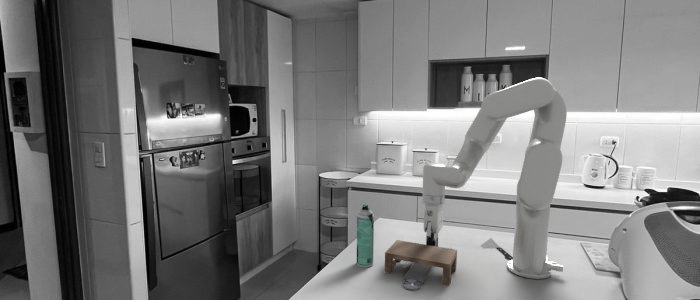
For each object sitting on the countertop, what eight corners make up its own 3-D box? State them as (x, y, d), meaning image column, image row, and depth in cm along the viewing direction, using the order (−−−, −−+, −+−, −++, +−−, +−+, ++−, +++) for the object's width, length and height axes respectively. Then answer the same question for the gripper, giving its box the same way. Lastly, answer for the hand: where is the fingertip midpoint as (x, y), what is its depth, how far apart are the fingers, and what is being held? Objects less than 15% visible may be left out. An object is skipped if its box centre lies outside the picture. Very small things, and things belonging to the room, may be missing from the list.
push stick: (440, 253, 132) (441, 232, 131) (423, 284, 110) (423, 258, 109) (423, 250, 135) (424, 229, 134) (403, 280, 112) (404, 255, 112)
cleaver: (488, 261, 127) (517, 261, 127) (488, 260, 127) (517, 259, 127) (461, 232, 156) (485, 232, 156) (461, 230, 156) (485, 230, 156)
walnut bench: (456, 269, 120) (457, 249, 119) (449, 285, 109) (450, 264, 108) (396, 258, 128) (396, 239, 128) (384, 272, 118) (384, 252, 117)
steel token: (422, 285, 110) (422, 281, 110) (416, 293, 106) (416, 289, 106) (405, 281, 112) (406, 277, 112) (400, 288, 108) (400, 285, 108)
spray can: (375, 262, 125) (376, 204, 122) (369, 268, 120) (370, 208, 118) (360, 259, 127) (360, 202, 125) (353, 265, 122) (354, 206, 120)
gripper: (439, 205, 121) (437, 260, 123) (448, 194, 136) (447, 243, 138) (416, 203, 124) (415, 256, 126) (428, 192, 139) (426, 240, 141)
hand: (431, 248), depth 132 cm, fingers closed on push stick, 3 cm apart
